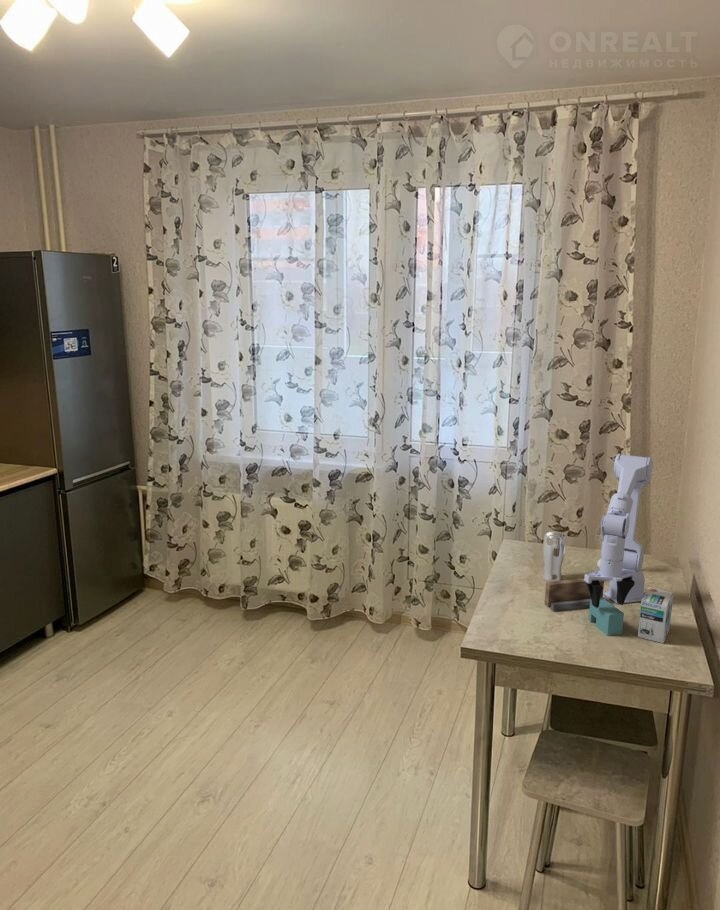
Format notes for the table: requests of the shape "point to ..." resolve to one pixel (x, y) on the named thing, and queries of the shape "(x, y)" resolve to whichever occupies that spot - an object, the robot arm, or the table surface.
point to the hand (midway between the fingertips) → (607, 604)
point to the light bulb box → (655, 615)
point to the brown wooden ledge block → (569, 595)
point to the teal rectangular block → (607, 618)
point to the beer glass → (553, 555)
